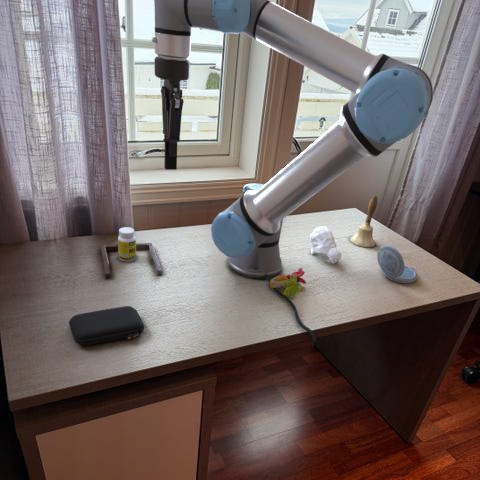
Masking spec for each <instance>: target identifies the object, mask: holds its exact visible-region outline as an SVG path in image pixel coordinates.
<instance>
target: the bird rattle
mask: <svg viewBox="0 0 480 480" xmlns="http://www.w3.org/2000/svg"><path fill="white" fill-rule="evenodd" d="M304 275H305V271H304V269H303V268H302V267H300V268H298V269H297V271H294V272H292V273H291V274H287V275H285V274H279V275H277V276H274V277H272V278H270V279H271V281H270V284H269V287H270V288H271V289H273V288H275V287H276V288H277V289H284V291H283V292H282V294H284V295H285V296H286V297H287V298H289V299H294V298H295V297H296V295H297V293H300V292H301V291H302V287H301V286H300V285H299V284H298V283H302V284H304V285H306V284H307V280H305V279H304V278H302V277H303V276H304Z"/></svg>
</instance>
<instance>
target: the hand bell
mask: <svg viewBox="0 0 480 480" xmlns="http://www.w3.org/2000/svg"><path fill="white" fill-rule="evenodd" d="M377 206H378V195H372V197H371V199H370V201H369V202H368V205H367V215H366V219H365V221H364V223H363V224H360V225H359V226H358V229H357V231H356V233H355V234H354V235H352V236H351V237H350V239H349V240H350V243H352V244H353V245H356V246H358V247H362V248H373V247H375V246H376V242H375V240H374V237H373V231H374V227H373V226H372V225H371V222H372V218H373V215H374V213H375V211H376V210H377Z"/></svg>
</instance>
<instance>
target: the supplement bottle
mask: <svg viewBox="0 0 480 480" xmlns="http://www.w3.org/2000/svg"><path fill="white" fill-rule="evenodd" d="M117 244H118V251H117V252H118V259H119V260H120V261H122V262H126V263H127V262H128V263H130V262H132V261H133V262H134V261H135V260H136V259H137V250H136V244H137V237H136V236H135V229H134V228H133V227H128V226H125V227H120V228H119V229H118V237H117Z"/></svg>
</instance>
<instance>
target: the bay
mask: <svg viewBox="0 0 480 480" xmlns="http://www.w3.org/2000/svg"><path fill="white" fill-rule="evenodd" d="M141 250H142V251H144V250H146V251H147V250H148V252H149V255H150V258H151V261H152V263H153V266H154V269H155V272H156V275H157V276H162V275H163V269H162V267H161V264H160V261H159V258H158V256H157V253H156V251H155V247H154V245H153V243H152V242H143V243H142V242H141V243H140V242H139V243H137V242H136V251H141ZM100 252H101V259H102V264H103V270H104V271H103V272H104V275H105V279H107V280H108V279H109V280H110V279H111V278H112V277H111V270H110V264H109V260H108V253H107V252H118V243H117V244H100Z"/></svg>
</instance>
